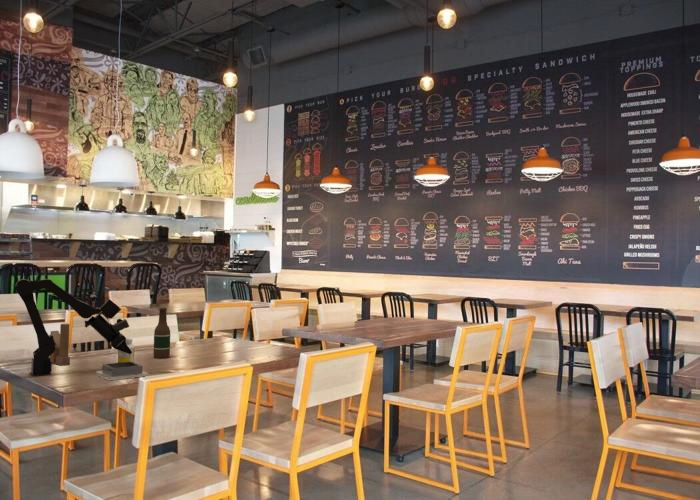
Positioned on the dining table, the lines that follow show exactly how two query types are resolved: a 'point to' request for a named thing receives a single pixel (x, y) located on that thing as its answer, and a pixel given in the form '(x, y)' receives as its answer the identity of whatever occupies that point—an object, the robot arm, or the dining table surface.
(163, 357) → the beer bottle
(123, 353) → the supplement bottle
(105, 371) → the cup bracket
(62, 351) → the wooden block
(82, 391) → the dining table surface
